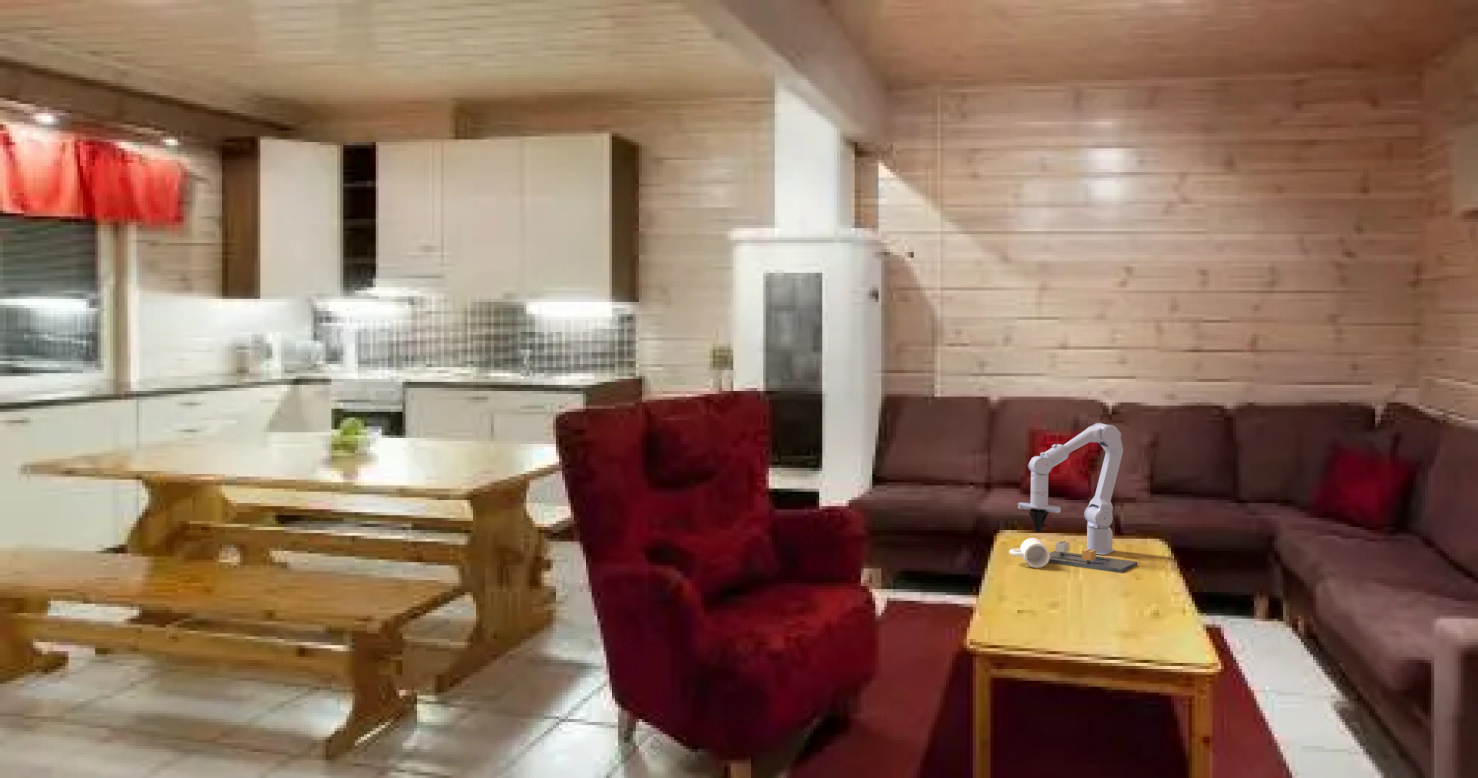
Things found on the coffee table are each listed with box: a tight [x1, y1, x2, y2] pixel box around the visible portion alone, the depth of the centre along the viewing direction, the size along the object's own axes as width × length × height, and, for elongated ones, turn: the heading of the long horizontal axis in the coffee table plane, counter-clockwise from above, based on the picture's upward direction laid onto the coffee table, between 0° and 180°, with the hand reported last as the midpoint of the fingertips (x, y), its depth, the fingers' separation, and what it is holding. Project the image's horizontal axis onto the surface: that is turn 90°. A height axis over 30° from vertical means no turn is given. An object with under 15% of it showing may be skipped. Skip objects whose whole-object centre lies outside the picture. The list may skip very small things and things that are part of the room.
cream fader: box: [1055, 540, 1070, 553], centre depth 381 cm, size 4×3×4 cm
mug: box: [1008, 537, 1051, 569], centre depth 370 cm, size 12×10×8 cm
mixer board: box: [1047, 550, 1138, 574], centre depth 372 cm, size 14×28×1 cm, turn 51°
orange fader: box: [1081, 548, 1097, 562], centre depth 368 cm, size 4×3×4 cm
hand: (1038, 531), depth 386 cm, fingers closed
